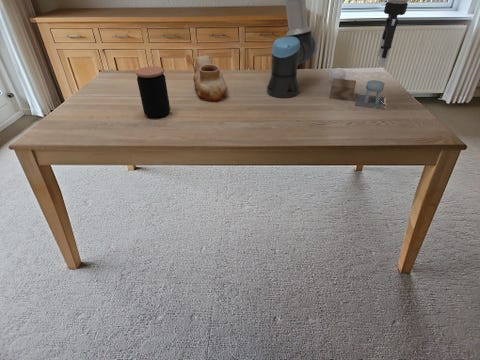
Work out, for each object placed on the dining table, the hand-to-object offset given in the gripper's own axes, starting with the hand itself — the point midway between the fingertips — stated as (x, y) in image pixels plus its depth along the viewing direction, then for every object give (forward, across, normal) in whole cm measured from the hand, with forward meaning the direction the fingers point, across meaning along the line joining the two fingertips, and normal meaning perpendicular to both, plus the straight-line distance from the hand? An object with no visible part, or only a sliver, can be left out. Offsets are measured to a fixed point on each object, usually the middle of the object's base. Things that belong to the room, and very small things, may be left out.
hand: (380, 61), depth 126 cm
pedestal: (+18, +3, +12) cm, 22 cm away
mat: (+18, 0, -1) cm, 18 cm away
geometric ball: (+18, +19, +16) cm, 31 cm away
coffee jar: (+19, -41, +83) cm, 95 cm away
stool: (+17, 0, -1) cm, 17 cm away
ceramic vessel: (+19, -12, +72) cm, 76 cm away
